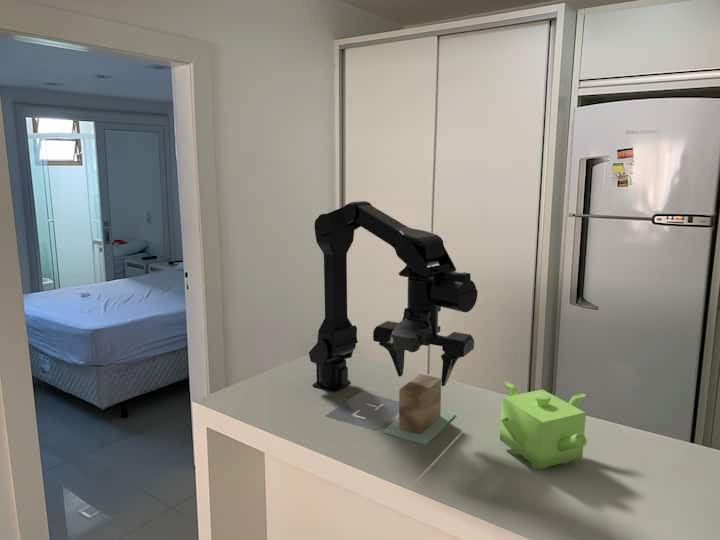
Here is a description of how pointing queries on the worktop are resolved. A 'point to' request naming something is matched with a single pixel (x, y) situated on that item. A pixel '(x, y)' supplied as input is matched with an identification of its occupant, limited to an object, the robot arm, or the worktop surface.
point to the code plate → (366, 411)
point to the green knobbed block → (542, 427)
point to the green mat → (426, 435)
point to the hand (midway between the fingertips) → (421, 380)
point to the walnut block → (419, 403)
